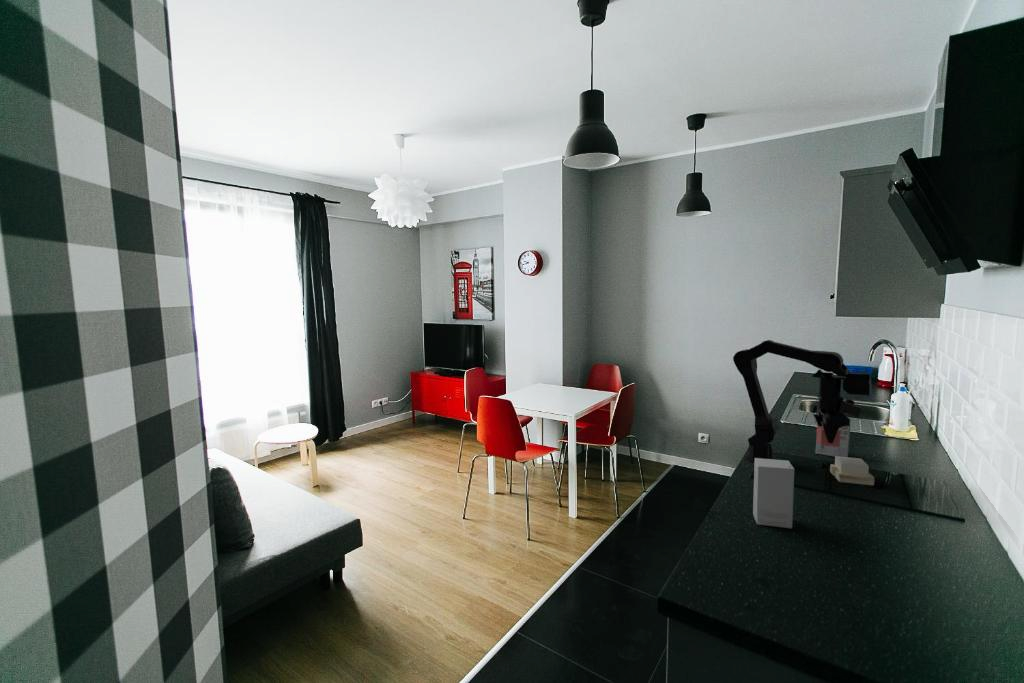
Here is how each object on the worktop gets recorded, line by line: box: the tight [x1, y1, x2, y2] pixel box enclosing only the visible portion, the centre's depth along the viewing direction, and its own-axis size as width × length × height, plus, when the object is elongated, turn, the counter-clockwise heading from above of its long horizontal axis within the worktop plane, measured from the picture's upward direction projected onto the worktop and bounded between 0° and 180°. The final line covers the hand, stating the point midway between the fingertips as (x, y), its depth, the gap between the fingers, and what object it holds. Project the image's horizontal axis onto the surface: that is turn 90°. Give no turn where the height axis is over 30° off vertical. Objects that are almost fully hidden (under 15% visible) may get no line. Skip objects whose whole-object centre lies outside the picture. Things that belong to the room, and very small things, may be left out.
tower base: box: [829, 463, 875, 486], centre depth 148 cm, size 9×9×3 cm
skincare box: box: [752, 458, 796, 529], centre depth 119 cm, size 8×7×16 cm
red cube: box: [815, 425, 840, 447], centre depth 149 cm, size 5×5×5 cm
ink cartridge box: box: [814, 423, 851, 457], centre depth 169 cm, size 10×6×14 cm, turn 55°
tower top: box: [834, 456, 870, 476], centre depth 148 cm, size 7×7×3 cm
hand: (827, 440), depth 149 cm, fingers closed on red cube, 5 cm apart
